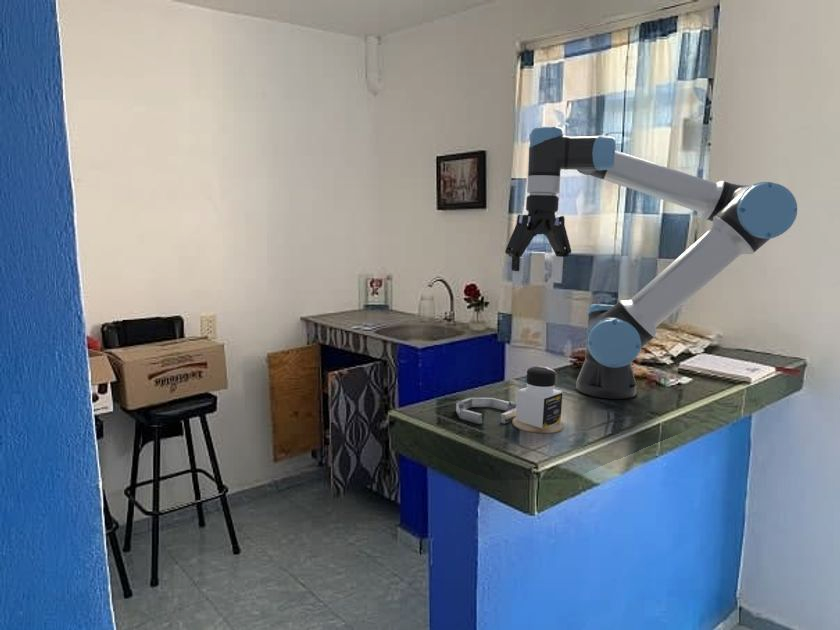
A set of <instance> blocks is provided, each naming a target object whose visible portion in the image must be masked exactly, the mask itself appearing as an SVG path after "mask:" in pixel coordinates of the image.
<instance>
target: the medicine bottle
mask: <svg viewBox="0 0 840 630" xmlns="http://www.w3.org/2000/svg"><path fill="white" fill-rule="evenodd" d="M525 382H526V384H525V385H526V387H523V388H520V389H518V390H517V394H516V421H518V422H521V423H524V424H527V425H531V426H534V427H537V428H540V429H544V428H547V427H549V426H552V425H554V424H557V423H559V422H560V421H562V420H561V419H562V405H563V391H562V390H559V389H555V384H556V371H555V370H554V369H552V368H550V367H547V366H533V367H532V366H531V367H530V368H528V369H527V370H526V381H525Z"/></svg>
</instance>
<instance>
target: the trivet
mask: <svg viewBox="0 0 840 630" xmlns="http://www.w3.org/2000/svg"><path fill="white" fill-rule="evenodd" d="M511 423H512V425H513V427H515V428H517V429H519V430H521V431H524V432H528V433H534V434H554V433H558V432H561V431H562V430H564V426H565V425H564V422H563V421H562V420H561V421H560V422H559V423H557V424H554V425H552V426H549V427H547V428H544V429H540V428H537V427H534V426H531V425H527V424H524V423H521V422H518V421H516V417H514V418H513V420H512V421H511Z"/></svg>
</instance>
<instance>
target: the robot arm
mask: <svg viewBox="0 0 840 630" xmlns="http://www.w3.org/2000/svg"><path fill="white" fill-rule="evenodd" d="M529 138H530V141H529V147H528V167H527V168H528V171H527V187H526V189H527V190H526V192H527V193H528V195H527V196H526V202H525V203H526V205H525V206H526V207H525V209H526V211H527V214H517V216H516V218H517V219H516V224H515V226H514V229H513V232H512V233H511V236H510V239H509V241H508V243H507V246H506V248H505V252H504V253H505V254H506V255H508V256H509V257H511V268H510V269H511V271H512V277H511V278H512V279H511V282H512V283H511V284H512V285H515V286H523V285H524V283H523V281H524V265H525V257H522V256H523V255H524V253H525V251H526V250H527V248H528V247H529V245H530V243H531V242H532V240H533V239H534V237H536V236H537V235H544V236H545V237H546V238H547V240H548V243H549V244H550V246H551V249H552V250H553V252H554V255H553V256H552V266H551V267H552V269H551V283H556V284H562V283H563V270H564V268H565V258H567V257H569V255H570V254H571V253H572V248H571V244H570V241H569V236H568V233H567V229H566V225H565V216H564V215H556V213H557V212H558V210H559V201H560V200H559V199H560V198H559V196H557V194H560V186H561V185H560V184H561V171H562V170H573V171H577V172H578V173H580V174H582V175H586V176H591V177H595V178H596V179H600V180H604V181H607V182H610V183H613V184H616V185H618V186H622V187H624V188H628V189H631V190H632V191H636V192H640V193H641V194H645V195H648V196H651V197H653V198H657V199H660V200H661V201H665V202H669V203H672V204H674V205H677V206H680V207H683V208H685V209H689V210H691V211H694V212H698V213H700V214H702V215H703V219H705V220H708V221H711V222H712V226H711V228H710V229H708V230H707V231H706V232H705V233H704V234H702V236H701V237H700V238H698V239H697V240H696V241H695V242H694V243H693V244H691V245H690V246H689V247H688V248H687V249H685V251H683V252H682V253H681V254H680V255H679V256H678V257H677V258H675V260H673V261H672V262H671V263H670V264H669V265H667V267H665V269H663V270H662V271H661V272H660V273H659V274H658V275H657V276H655V277H654V278H653V279H652V280H651V281H650V282H648V284H646V285H645V286H644V287H643V288H641V290H639V292H637V293H636V294H635V295H634V296H632V298H631V299H626V300H625V299H621V300H618V301H617V302H616V303H615V304H602V303H600V304H599V303H598V304H597V303H593V304H591V305H590V306H589V308H588V312H587V332H586V342H585V343H586V344H585V356H584V358H585V360H584V362H583V365H582V367H581V369H580V371H579V374H578V377H577V379H576V383H575V385H576V386H575V388H576V390H577V391H578V392H580V393H582V394H585V395H587V396H592V397H596V398H601V399H602V398H603V399H610V400H611V399H612V400H619V399H620V400H622V399H629V398H633V397H635V396H636V394H637V383H636V382H637V381H636V379H635V375H634V370H633V366H632V362H633V361H635V359H637V357H638V356H639V354H640V353H641V349H642V348H644V347H645V346H646V345H647V344H648V343H650V342H651V341H652V340H653V339H654V338H655V337H656V336H657V335H656V331H657V327H658V326H659V325H660V324H661V323H662V322H664V321H665V320H666V319H667V318H669V317H670V316H671V315H672V314H673V313H674V312H676V310H678V309H679V308H680V307H681V306H682V305H684V304H685V303H686V302H687V301H688V300H690V299H691V298H692V297H693V296H694V295H695V294H696V293H698V292H699V291H700V290H701V289H703V287H704V286H706V285H707V284H708V283H709V282H711V281H712V280H713V279H714V278H715V277H716V276H718V275H719V274H720V273H721V272H722V271H723V270H724V269H726V268H727V267H728V266H730V264H731V263H733V262H734V261H735V260H736V259H737V258H739V257H740V256H741V255H753V254H754V253H755V252H757V251H758V250H759V249H760V248H761V247H762V246H764V245H765V244H766V243H767V242H769V240H772V239H774V238H777V237H779V236H781V235H784V233H786V232H787V231H788V230H789V229H790V228H791V227H792V225H794V222H795V221H796V218H797V215H798V203H797V200H796V197H795V196H794V194H793V193H792V191H791V190H790V189H789V188H787V187H785V186H784V185H782V184H779V183H775V182H771V181H762V182H757V183H754V184H752V185H743V184H736V183H735V184H734V183H731V182H728V181H724V180H721V181H717V182H713V181H710V180H707V179H704V178H700V177H697V176H696V175H695V176H694V175H692V174H689V173H685V172H682V171H680V170H676V169H674V168H670V167H668V166H664V165H661V164H658V163H655V162H652V161H649V160H646V159H643V158H640V157H637V156H633V155H632V154H631V155H630V154H627V153H625V152H621V151H619V150H616V142H617V141H616V138H615V137H613V136H603V135H597V136H596V135H595V136H590V135H589V136H567V135H565V134H564V129H563V128H561V127H559V126H549V125H548V126H538V127H534V128H533V129H532V130H531V131H530V137H529Z"/></svg>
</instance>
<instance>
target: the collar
mask: <svg viewBox="0 0 840 630" xmlns="http://www.w3.org/2000/svg"><path fill="white" fill-rule="evenodd" d="M455 406H456V407H455V409H456V410H455V412H456V414H457V415H458V418H459V419H461V420H463V421H468V422H471V423H475V424H482V423H483V413H480V412H476V411H473V410H469V409H471V408H494V409H497V410H501V411H505V412H503V413H501V415H500V423H501V424H504V425H505V424H508V423H510V422H512V420H513V418H514V417H516V408H517V403H515V401H514V400H509V401H508V400H502V399H500V398H499V399H498V398H494V397H468V398H465V399H463V400H457V402H456V405H455Z"/></svg>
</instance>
